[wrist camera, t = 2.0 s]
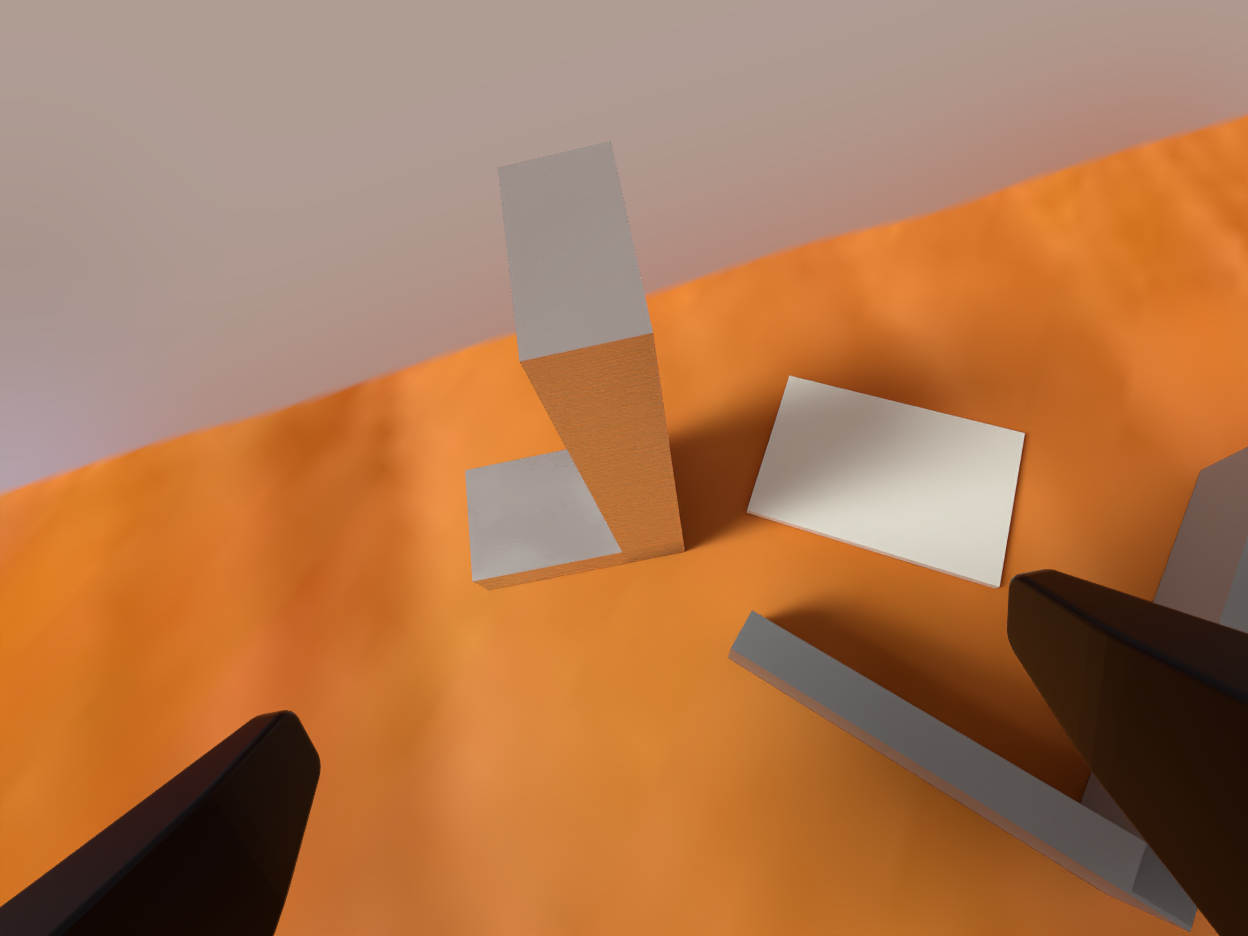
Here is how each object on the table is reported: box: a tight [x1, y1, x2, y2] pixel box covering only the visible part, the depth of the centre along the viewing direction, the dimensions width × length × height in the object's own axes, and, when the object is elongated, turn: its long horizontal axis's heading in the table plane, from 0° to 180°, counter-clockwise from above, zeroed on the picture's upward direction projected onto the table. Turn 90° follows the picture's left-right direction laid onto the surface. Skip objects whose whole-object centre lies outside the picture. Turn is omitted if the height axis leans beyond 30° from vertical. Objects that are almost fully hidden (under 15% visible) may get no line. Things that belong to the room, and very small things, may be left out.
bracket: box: [465, 142, 685, 590], centre depth 16 cm, size 7×4×13 cm, turn 99°
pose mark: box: [747, 376, 1025, 589], centre depth 21 cm, size 8×6×1 cm
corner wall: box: [728, 447, 1248, 932], centre depth 18 cm, size 11×13×3 cm
